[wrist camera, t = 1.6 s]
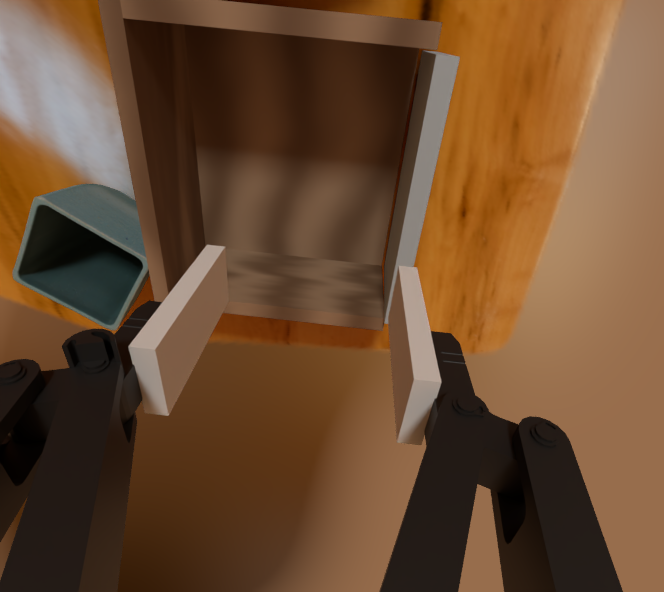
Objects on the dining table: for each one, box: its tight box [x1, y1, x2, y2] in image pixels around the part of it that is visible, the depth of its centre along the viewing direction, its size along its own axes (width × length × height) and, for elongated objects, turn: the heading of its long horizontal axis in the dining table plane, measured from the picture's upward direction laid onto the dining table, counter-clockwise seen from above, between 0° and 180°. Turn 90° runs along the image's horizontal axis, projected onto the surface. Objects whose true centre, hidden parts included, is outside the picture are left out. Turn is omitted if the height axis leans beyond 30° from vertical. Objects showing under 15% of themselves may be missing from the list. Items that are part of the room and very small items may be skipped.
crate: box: [98, 0, 442, 331], centre depth 30 cm, size 18×20×10 cm
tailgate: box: [384, 51, 460, 324], centre depth 29 cm, size 1×17×9 cm, turn 175°
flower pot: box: [13, 184, 150, 330], centre depth 35 cm, size 9×9×9 cm
